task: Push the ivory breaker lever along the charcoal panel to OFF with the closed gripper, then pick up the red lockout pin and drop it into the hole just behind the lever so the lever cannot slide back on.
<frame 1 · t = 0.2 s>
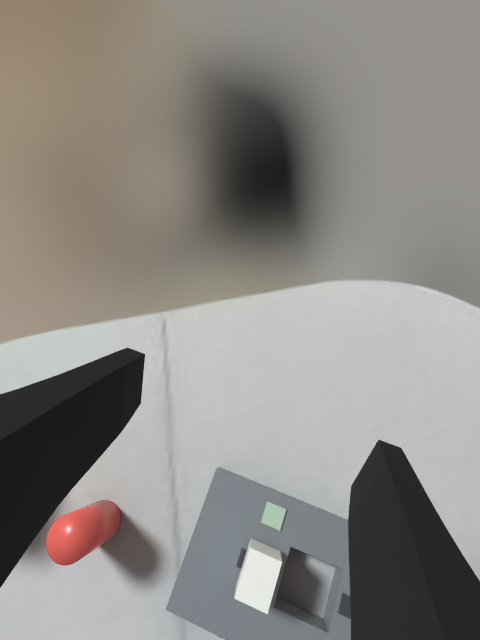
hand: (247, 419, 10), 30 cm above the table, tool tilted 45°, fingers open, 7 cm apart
lockout pin: (102, 520, 37), on the table
breaker lever: (258, 573, 30), point 5 cm above the table, slide at 10.0 cm
breaker panel: (295, 573, 34), on the table
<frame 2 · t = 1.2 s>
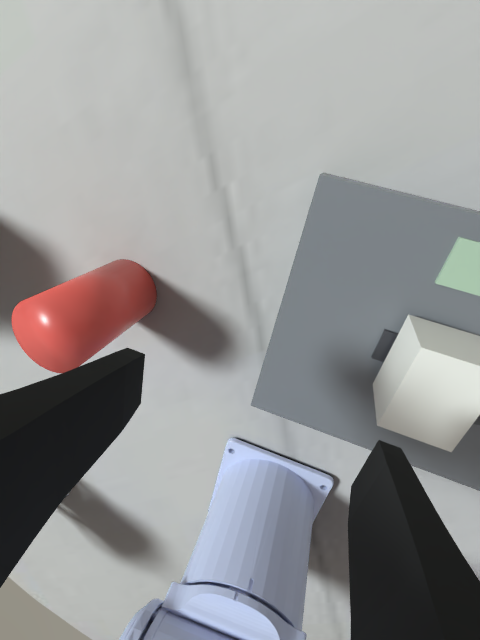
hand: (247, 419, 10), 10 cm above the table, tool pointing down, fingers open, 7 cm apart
lockout pin: (129, 289, 22), on the table
breaker lever: (429, 380, 14), point 5 cm above the table, slide at 10.0 cm
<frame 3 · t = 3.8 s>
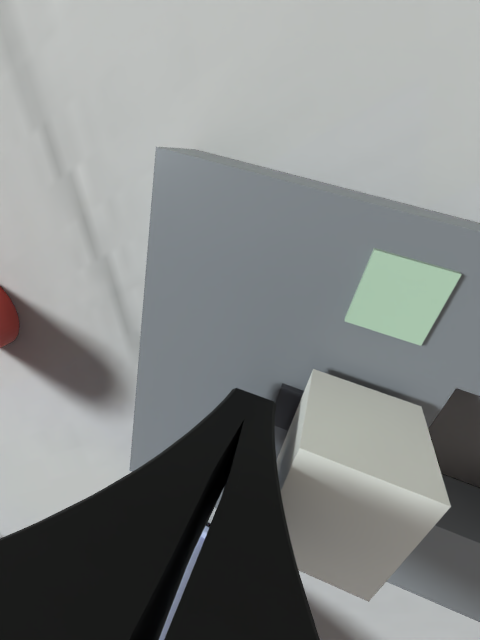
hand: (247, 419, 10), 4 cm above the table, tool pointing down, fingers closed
breaker lever: (339, 477, 9), point 4 cm above the table, slide at 9.8 cm, touching gripper
breaker panel: (445, 416, 12), on the table
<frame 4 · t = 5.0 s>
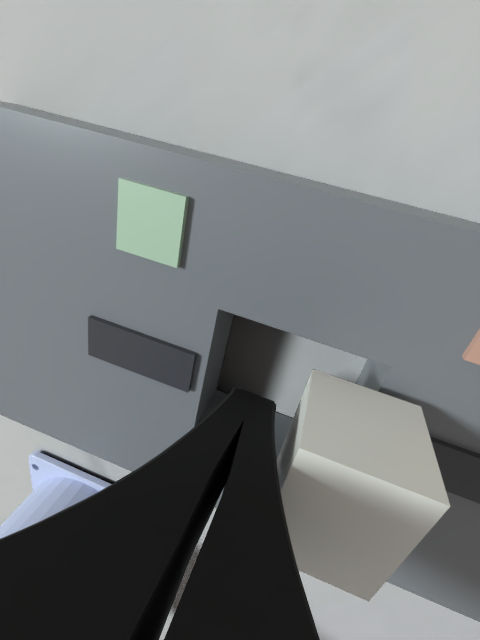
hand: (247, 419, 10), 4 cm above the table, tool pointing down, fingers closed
breaker lever: (338, 477, 9), point 5 cm above the table, slide at 2.9 cm, touching gripper
breaker panel: (265, 354, 13), on the table
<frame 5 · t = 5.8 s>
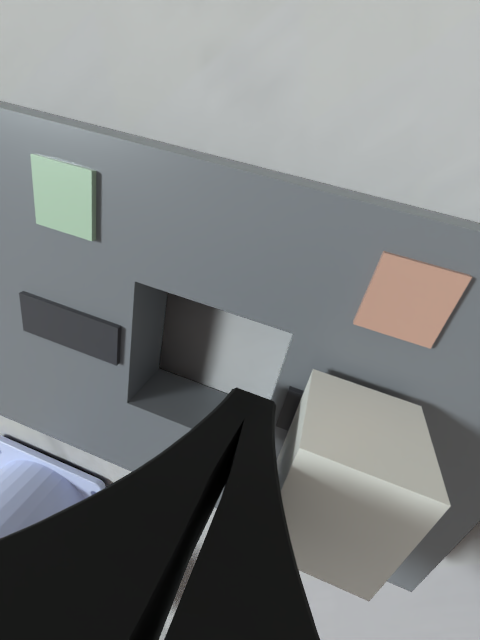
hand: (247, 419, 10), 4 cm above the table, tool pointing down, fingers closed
breaker lever: (339, 477, 9), point 5 cm above the table, slide at 0.1 cm, touching gripper
breaker panel: (199, 331, 14), on the table
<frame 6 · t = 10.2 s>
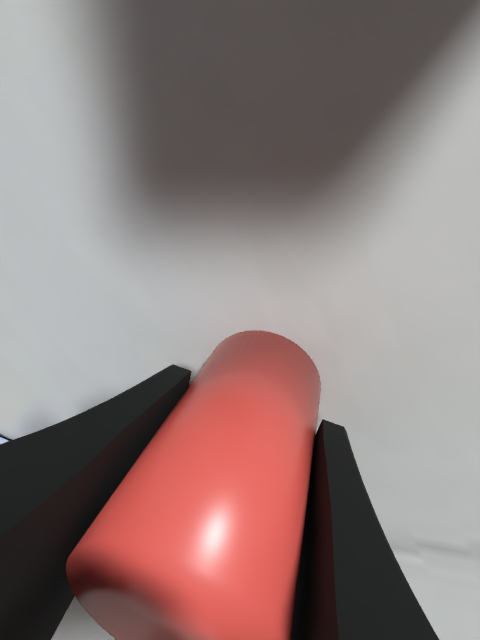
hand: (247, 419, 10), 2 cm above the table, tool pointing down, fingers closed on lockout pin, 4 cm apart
lockout pin: (261, 382, 12), on the table, touching gripper
when the fingers open (3 cm above the table, at t = 14.3 s): lockout pin drops 1 cm, resting in breaker panel.
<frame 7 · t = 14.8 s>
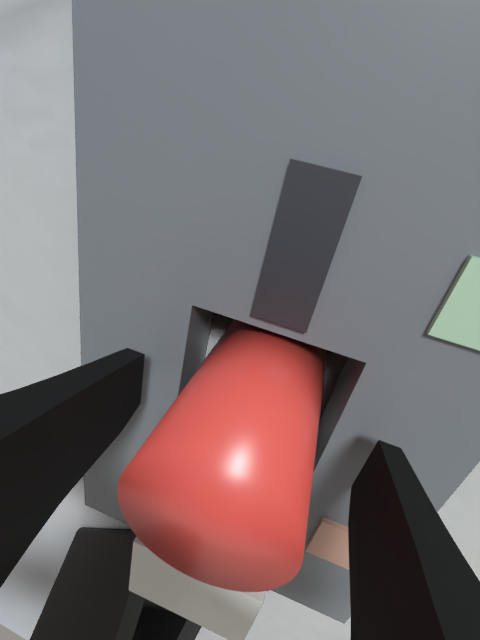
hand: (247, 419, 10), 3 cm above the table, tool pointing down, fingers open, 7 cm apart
lockout pin: (272, 354, 13), resting in breaker panel
breaker lever: (207, 546, 11), point 4 cm above the table, slide at 0.0 cm
breaker panel: (277, 338, 12), on the table
phone stand: (145, 568, 23), on the table
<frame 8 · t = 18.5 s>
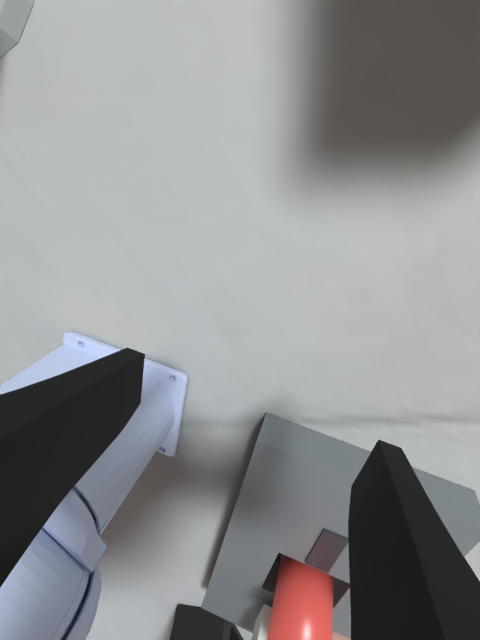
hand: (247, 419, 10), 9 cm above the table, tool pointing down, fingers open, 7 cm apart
lockout pin: (308, 549, 26), resting in breaker panel
breaker panel: (311, 544, 26), on the table
phone stand: (217, 629, 37), on the table
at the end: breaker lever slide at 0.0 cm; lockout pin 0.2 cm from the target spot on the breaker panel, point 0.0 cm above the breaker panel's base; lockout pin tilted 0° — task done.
